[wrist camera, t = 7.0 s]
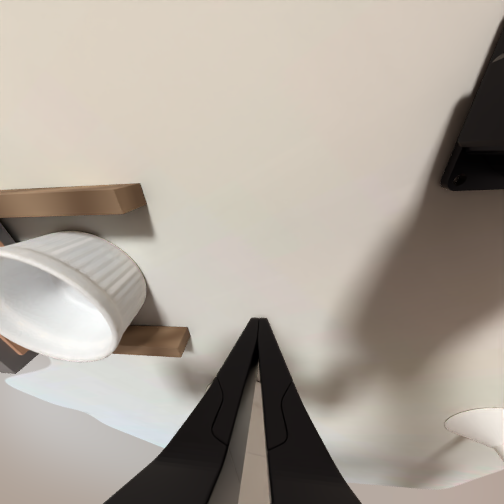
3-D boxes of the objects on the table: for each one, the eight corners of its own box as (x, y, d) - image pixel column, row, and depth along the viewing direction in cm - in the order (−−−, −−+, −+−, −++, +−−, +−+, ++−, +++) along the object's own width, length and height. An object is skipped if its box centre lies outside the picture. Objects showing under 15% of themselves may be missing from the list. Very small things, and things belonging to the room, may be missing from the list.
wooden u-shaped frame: (139, 183, 10) (73, 198, 7) (190, 336, 17) (169, 384, 13) (-98, 195, 12) (-246, 211, 9) (29, 329, 19) (-26, 369, 15)
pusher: (0, 217, 12) (-130, 249, 8) (78, 322, 17) (19, 374, 13) (-19, 218, 12) (-155, 250, 8) (63, 321, 17) (1, 372, 13)
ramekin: (69, 194, 11) (-31, 215, 8) (177, 286, 14) (144, 335, 10) (24, 264, 14) (-63, 303, 11) (119, 327, 17) (77, 376, 14)
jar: (188, 399, 23) (82, 721, 10) (212, 358, 18) (63, 881, 5) (264, 422, 24) (257, 734, 11) (305, 389, 19) (376, 874, 6)
